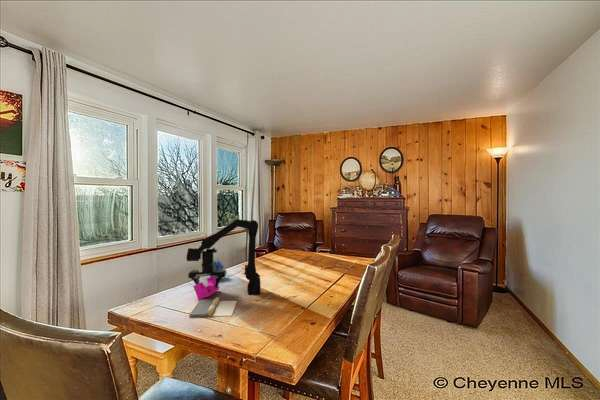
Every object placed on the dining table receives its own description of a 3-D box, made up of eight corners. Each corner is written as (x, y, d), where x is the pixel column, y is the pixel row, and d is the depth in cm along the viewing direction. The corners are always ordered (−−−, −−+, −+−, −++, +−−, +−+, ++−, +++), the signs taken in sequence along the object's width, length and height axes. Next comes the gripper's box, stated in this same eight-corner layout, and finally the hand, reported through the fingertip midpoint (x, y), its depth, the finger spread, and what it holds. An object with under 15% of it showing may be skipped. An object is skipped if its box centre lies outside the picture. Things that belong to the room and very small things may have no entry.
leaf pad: (237, 301, 141) (237, 300, 141) (231, 316, 124) (231, 315, 124) (219, 301, 141) (219, 301, 141) (212, 316, 123) (212, 315, 123)
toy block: (208, 295, 141) (203, 281, 142) (198, 300, 143) (193, 286, 143) (223, 286, 156) (218, 273, 157) (213, 290, 157) (208, 277, 158)
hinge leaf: (219, 301, 141) (219, 296, 141) (211, 316, 123) (211, 311, 123) (200, 301, 140) (200, 297, 140) (189, 317, 122) (189, 311, 122)
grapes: (212, 283, 170) (213, 263, 170) (205, 280, 174) (206, 261, 174) (228, 278, 180) (228, 259, 180) (221, 276, 184) (221, 258, 184)
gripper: (228, 257, 159) (228, 284, 159) (194, 257, 157) (194, 285, 158) (224, 261, 148) (224, 291, 148) (188, 262, 146) (187, 292, 147)
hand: (207, 289), depth 151 cm, fingers open, 8 cm apart
